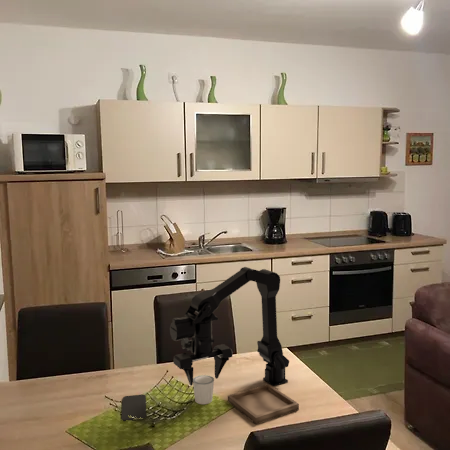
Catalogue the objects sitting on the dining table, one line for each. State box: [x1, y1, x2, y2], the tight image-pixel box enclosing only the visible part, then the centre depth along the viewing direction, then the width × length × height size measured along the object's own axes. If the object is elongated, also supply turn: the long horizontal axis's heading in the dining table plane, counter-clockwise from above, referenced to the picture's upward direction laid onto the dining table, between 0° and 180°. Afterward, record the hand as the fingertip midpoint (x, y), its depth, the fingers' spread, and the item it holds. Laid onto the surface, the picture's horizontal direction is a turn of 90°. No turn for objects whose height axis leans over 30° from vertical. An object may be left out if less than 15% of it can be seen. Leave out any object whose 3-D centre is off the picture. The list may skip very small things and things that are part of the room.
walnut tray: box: [227, 383, 300, 425], centre depth 150 cm, size 16×16×2 cm
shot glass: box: [192, 374, 215, 405], centre depth 154 cm, size 7×7×7 cm
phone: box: [120, 394, 147, 422], centre depth 149 cm, size 7×1×15 cm
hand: (203, 381), depth 153 cm, fingers open, 9 cm apart
